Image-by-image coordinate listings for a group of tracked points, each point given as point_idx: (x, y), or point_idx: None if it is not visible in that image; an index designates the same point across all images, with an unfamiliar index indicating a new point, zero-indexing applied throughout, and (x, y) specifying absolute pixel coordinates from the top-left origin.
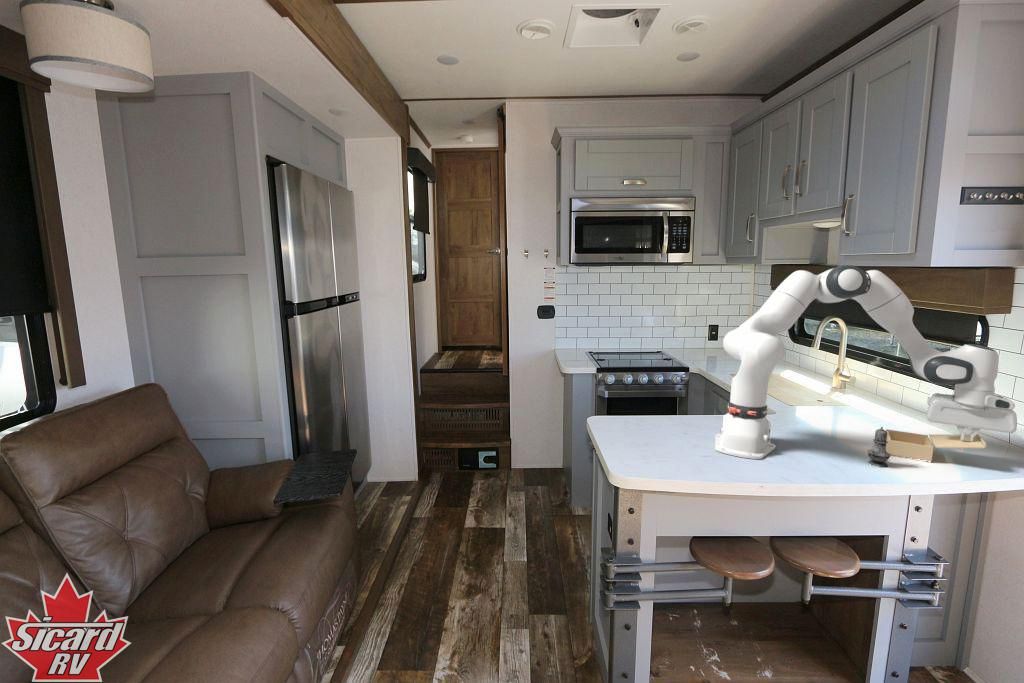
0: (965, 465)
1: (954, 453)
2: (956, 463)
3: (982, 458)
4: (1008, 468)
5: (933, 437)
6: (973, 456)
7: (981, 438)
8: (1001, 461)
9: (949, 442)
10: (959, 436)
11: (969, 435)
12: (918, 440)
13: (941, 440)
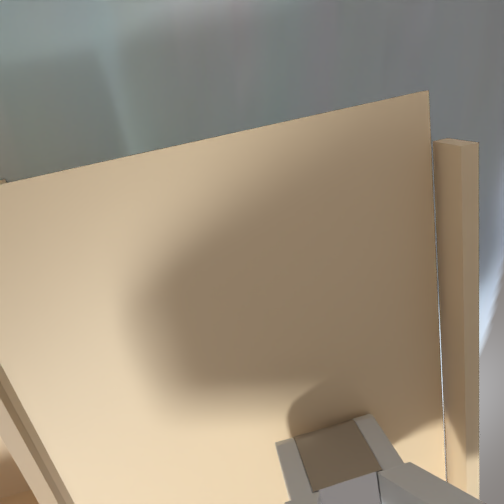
0: None
1: (203, 96)
2: None
3: (376, 75)
4: (485, 210)
5: (11, 334)
6: (323, 67)
7: (476, 445)
8: (481, 49)
9: (191, 485)
10: (253, 246)
11: (375, 500)
12: None
13: (114, 433)
